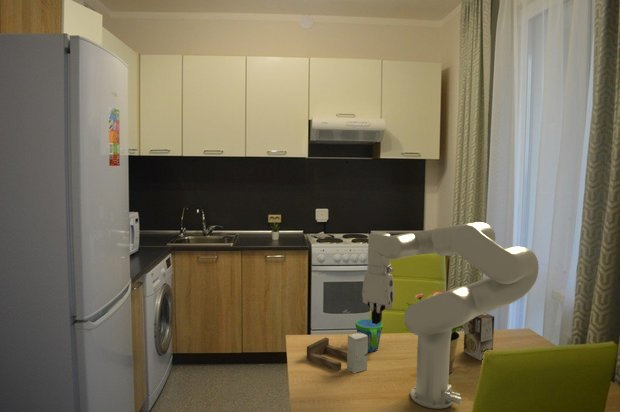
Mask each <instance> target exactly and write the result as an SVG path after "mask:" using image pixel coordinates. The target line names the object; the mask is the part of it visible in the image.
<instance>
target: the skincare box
mask: <svg viewBox="0 0 620 412" xmlns="http://www.w3.org/2000/svg"><path fill="white" fill-rule="evenodd" d="M368 352H369V351H368V336H367V335H365V334H363V333H357V332H356V333H352V334H348V335H347V362H346V369H347V370H348V371H350V372H351V373H353V374H356V373H359V372H365V371H366V370H368Z"/></svg>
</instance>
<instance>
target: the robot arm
mask: <svg viewBox="0 0 620 412" xmlns="http://www.w3.org/2000/svg"><path fill="white" fill-rule="evenodd" d="M367 245H368V247H367V268H366V270H367V271H365V273H364V277H363V283H362V289H361V290H362V291H361V295H362V303H363V304H365V305H367V306H368V307H369V310H370V311H371V319H372V323H373V324H374V323H375V324H378V323H380V322H381V323H382V319H383V317H382V316H383V311H384V310H392V308H393V304H392V303H394V301H395V283H394V277H393V274H392V273H394V268H392V266H391V265H392V264H391V260H400V259H405V258H408V257H415V256H419V255H427V254H428V255H429V254H436V255H438V256H440V257H446V256H456V255H459V256H460V257H461V258H462V259H464V260H465V261H466V262H468V263H469V264H470V265H471V266H473V267H474V268H475V269H477V270H479V272H481V273H482V274H484V276H486V277H484V278H483V279H481V280H478V281H475V282H472V283H469V284H466V285H462V286H457V287H453V288H451V289H449V290H446V291H444V292H441V293H439V294H436V295H431V296H428V297H426V298H423V299H421V300H418V301H415V302H413V303H411V304H410V305H408V307H407V308H406V310H405V312H404V314H403V315H404V316H403V323H404V325H405V328H406V329H407V330H408V331H409V332H410V333H411V334H412V335H415V336H417V347H416V348H417V349H416V351H417V352H416V371H415V373H416V374H415V375H416V376H415V377H416V378H415V386H414V387H412V389H410V393H409V395H410V398H411V399H412V400H413V401H414V402H415V403H416V404H417V405H420V406H421V407H425V408H429V409H435V410H440V409H447V408H449V407H451V406H452V405H453V404H454V403H455V404H458V405H462V401H463V398H462V397H461V393H460V392H459V393H458V392H455V391H453V389H452V385H451V384H449V382H450V381H449V379H450V377H449V376H450V373H449V372H450V356H451V353H450V352H451V340H452V331H453V329H455V328H458V327H461V326H463V325H465V323H466V322H468V321H470V320H472V319H473V318H475V317H477V316H478V315H480V314H483V313H489V312H492V311H496V309H497V310H498V309H500V308H502V307H505V306H508V305H511V304H514V303H515V302H517V301H519V300H520V299H522V298H523V297H524V296H526V295H527V294H528V293H529V292H530V291H531V289H532V288H533V287H534V285H535V283H536V281H537V278H538V275H539V269H540V267H539V259H538V257H537V255H536V253H534V252H533V251H532V249H529V248H527V247H525V246H519V245H518V246H509V247H508V248H504V247H502V246H501V245H499V244H497V242H496V232H495V230H494V228H493V227H492V226H491V225H489V224H488V223H486V222H481V221H475V222H467V223H461V224H454V225H448V226H439V227H435V228H434V229H428V230H422V231H415V232H407V233H401V234H394V235H391V234H390V233H388V232H384V231H372V232H370V233H369V235H368V243H367Z"/></svg>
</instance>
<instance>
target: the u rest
mask: <svg viewBox="0 0 620 412" xmlns="http://www.w3.org/2000/svg"><path fill="white" fill-rule="evenodd" d="M329 342H330V340H329V337H324V338H322V339H319V340H318V341H316V342H313V343H311V344H310V345H307V346H306V361H308V362H311V363H314V364H317V365H320V366H322V367H325V368H328V369H331V370H333V371H335V372H336V371H337V372H340V371H341V370H342V362H340V361H337V360H335V359H332V358H328V357H326V356H323V355H324V354H328V355H332V356H335V357H338V358H340V359H344V360H347V350H348V349H347V350H346V349H343V348H340V347H337V346H334V345H331V344H330V343H329Z"/></svg>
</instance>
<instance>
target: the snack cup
mask: <svg viewBox="0 0 620 412" xmlns="http://www.w3.org/2000/svg"><path fill="white" fill-rule="evenodd" d="M383 325H384V324H383V322H382V321H381V322H380V323H378V324H375V323H374V324H373V323H372V318H365V319H359V320H356V321H355V329H356V333H363V334H365V335H367V336H368V352H370V353H373V352H376V351H377V350H379V347H380V339H381V336H382V330H383V328H384V326H383Z"/></svg>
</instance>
